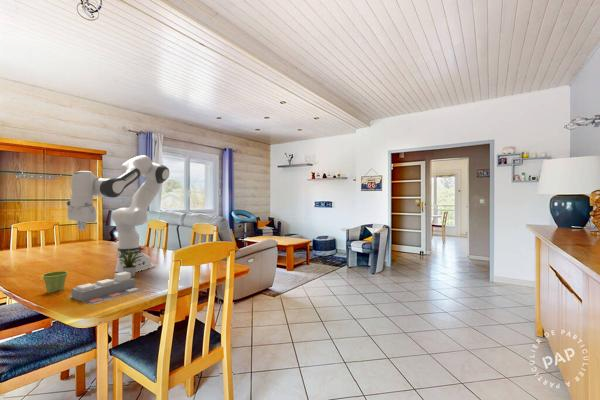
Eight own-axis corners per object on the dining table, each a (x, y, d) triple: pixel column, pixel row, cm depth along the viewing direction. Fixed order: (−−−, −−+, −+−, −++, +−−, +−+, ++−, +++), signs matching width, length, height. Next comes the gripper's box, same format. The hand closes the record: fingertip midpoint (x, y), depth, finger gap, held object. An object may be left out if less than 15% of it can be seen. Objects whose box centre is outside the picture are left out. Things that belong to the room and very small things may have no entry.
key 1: (89, 294, 129) (89, 283, 129) (95, 296, 127) (95, 285, 127) (76, 297, 125) (76, 286, 124) (82, 299, 122) (82, 288, 122)
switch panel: (120, 285, 147) (120, 275, 146) (144, 291, 137) (144, 281, 137) (67, 298, 126) (67, 287, 126) (91, 307, 117) (91, 295, 117)
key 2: (124, 281, 143) (124, 271, 143) (130, 282, 141) (130, 272, 141) (114, 283, 139) (114, 273, 139) (120, 285, 136) (120, 275, 136)
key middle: (107, 289, 136) (108, 278, 136) (113, 290, 134) (113, 280, 134) (96, 292, 132) (96, 281, 132) (102, 294, 129) (102, 283, 129)
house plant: (129, 282, 151) (129, 252, 151) (107, 280, 153) (107, 251, 153) (148, 275, 165) (148, 247, 165) (127, 273, 167) (128, 246, 167)
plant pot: (46, 296, 129) (46, 277, 128) (38, 292, 134) (39, 274, 133) (70, 290, 137) (71, 273, 136) (63, 287, 142) (63, 270, 141)
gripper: (100, 203, 139) (99, 231, 139) (79, 202, 148) (78, 228, 148) (85, 203, 133) (85, 232, 133) (64, 202, 143) (64, 229, 143)
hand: (81, 230), depth 141 cm, fingers closed
